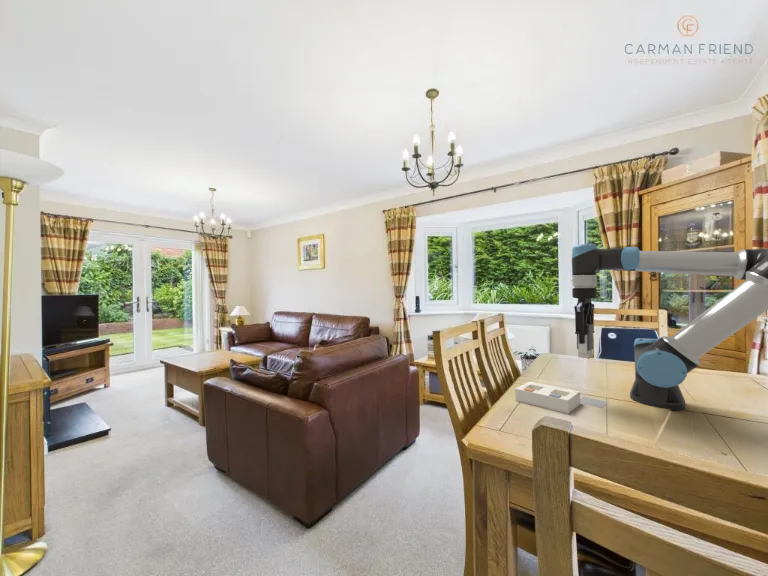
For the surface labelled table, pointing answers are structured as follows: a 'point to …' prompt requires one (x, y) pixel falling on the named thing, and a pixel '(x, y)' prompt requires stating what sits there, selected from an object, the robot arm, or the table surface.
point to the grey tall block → (589, 342)
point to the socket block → (548, 396)
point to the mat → (593, 402)
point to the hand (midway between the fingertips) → (585, 351)
